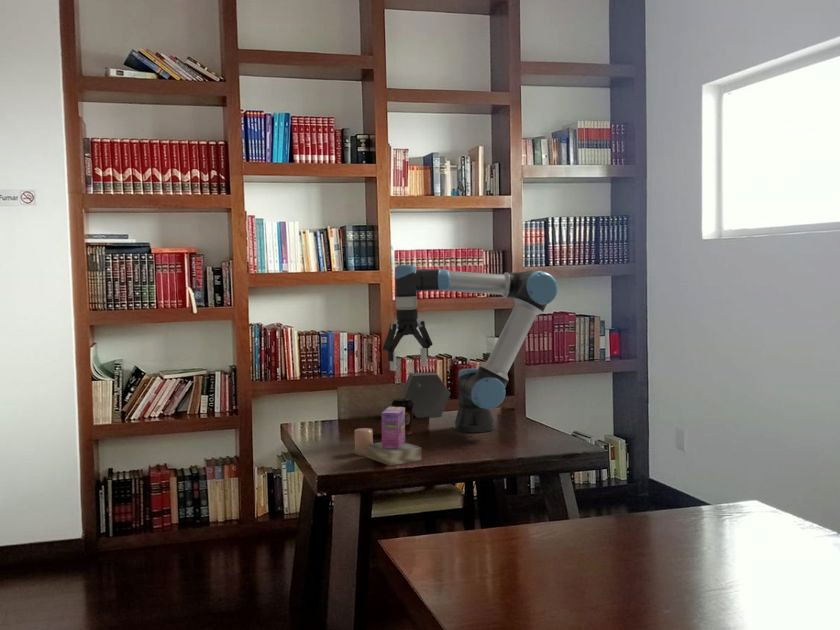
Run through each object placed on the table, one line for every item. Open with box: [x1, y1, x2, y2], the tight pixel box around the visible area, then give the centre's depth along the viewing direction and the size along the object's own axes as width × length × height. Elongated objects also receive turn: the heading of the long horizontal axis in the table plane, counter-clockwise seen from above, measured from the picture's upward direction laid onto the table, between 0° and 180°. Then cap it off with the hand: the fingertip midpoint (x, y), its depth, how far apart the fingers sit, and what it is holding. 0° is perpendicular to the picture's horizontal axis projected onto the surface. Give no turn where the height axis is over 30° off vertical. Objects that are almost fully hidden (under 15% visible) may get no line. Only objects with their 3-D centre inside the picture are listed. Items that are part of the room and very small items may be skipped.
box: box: [381, 406, 406, 449], centre depth 267 cm, size 10×6×12 cm, turn 169°
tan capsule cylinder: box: [354, 427, 374, 457], centre depth 275 cm, size 6×6×8 cm
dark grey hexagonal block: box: [400, 371, 451, 419], centre depth 340 cm, size 17×8×21 cm
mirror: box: [366, 441, 422, 466], centre depth 268 cm, size 12×14×4 cm
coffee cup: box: [390, 397, 414, 435], centre depth 306 cm, size 9×8×13 cm
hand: (408, 368), depth 292 cm, fingers open, 13 cm apart
